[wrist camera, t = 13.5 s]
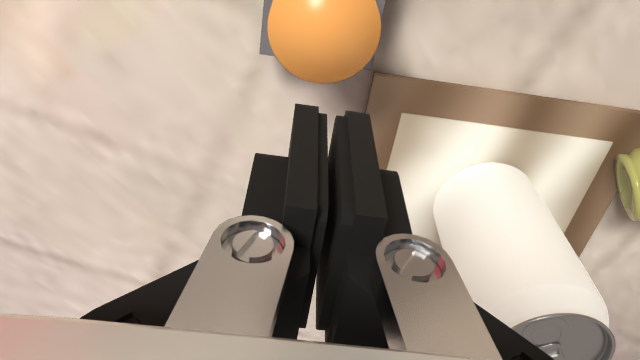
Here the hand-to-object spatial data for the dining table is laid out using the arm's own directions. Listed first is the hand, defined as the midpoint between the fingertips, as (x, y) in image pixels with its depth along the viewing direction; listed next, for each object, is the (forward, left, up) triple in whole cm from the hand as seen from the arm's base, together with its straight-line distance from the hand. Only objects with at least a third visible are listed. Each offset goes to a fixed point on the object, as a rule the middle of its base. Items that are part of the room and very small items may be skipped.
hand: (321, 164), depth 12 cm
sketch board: (-12, +11, -17) cm, 24 cm away
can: (-12, +11, -17) cm, 23 cm away
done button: (0, 0, -12) cm, 12 cm away
